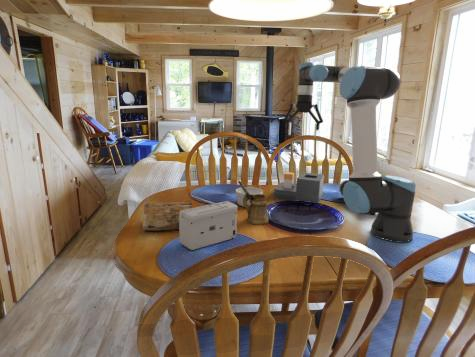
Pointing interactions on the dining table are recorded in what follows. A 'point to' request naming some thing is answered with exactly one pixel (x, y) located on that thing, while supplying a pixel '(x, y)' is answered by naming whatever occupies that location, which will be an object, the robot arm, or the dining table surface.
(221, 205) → the stereo radio cassette player
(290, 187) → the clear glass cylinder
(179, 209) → the petrified wood
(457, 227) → the dining table surface
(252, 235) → the dining table surface
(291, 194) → the dock
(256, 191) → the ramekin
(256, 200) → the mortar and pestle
